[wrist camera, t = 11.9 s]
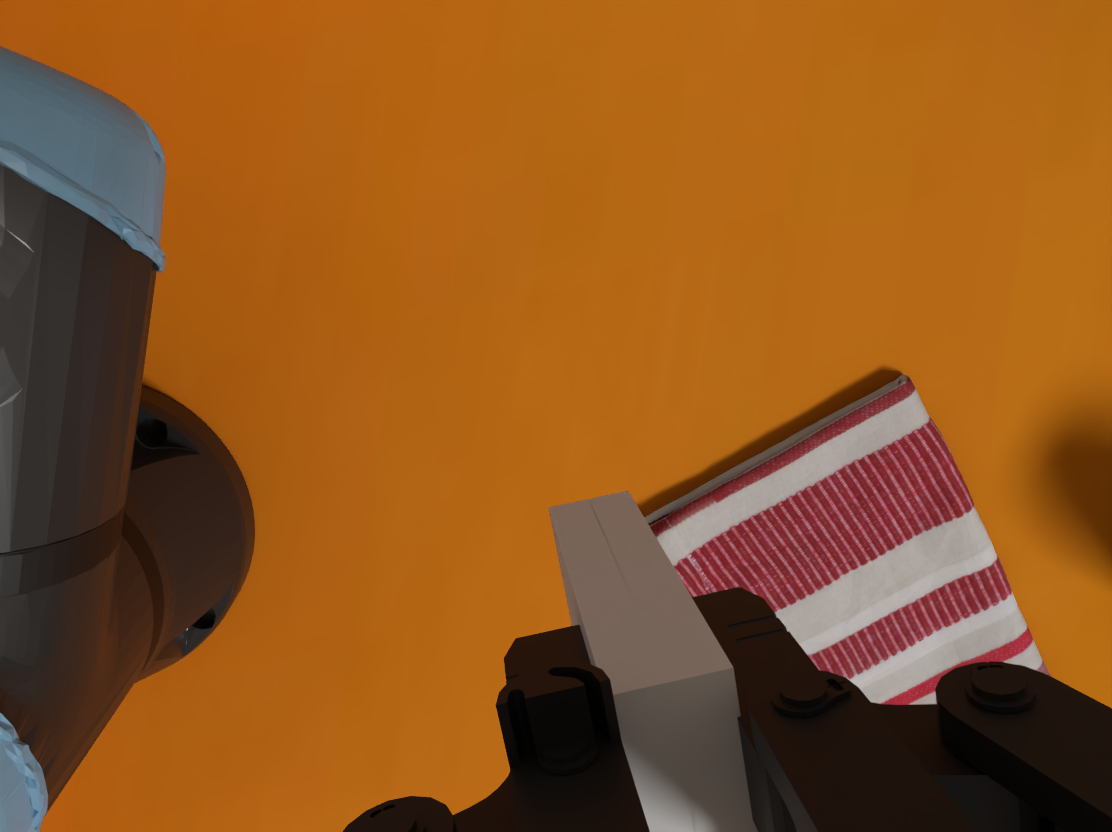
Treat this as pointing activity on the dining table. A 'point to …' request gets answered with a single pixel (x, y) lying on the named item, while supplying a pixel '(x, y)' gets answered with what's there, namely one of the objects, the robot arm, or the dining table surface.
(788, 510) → the dish towel
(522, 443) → the dining table surface
